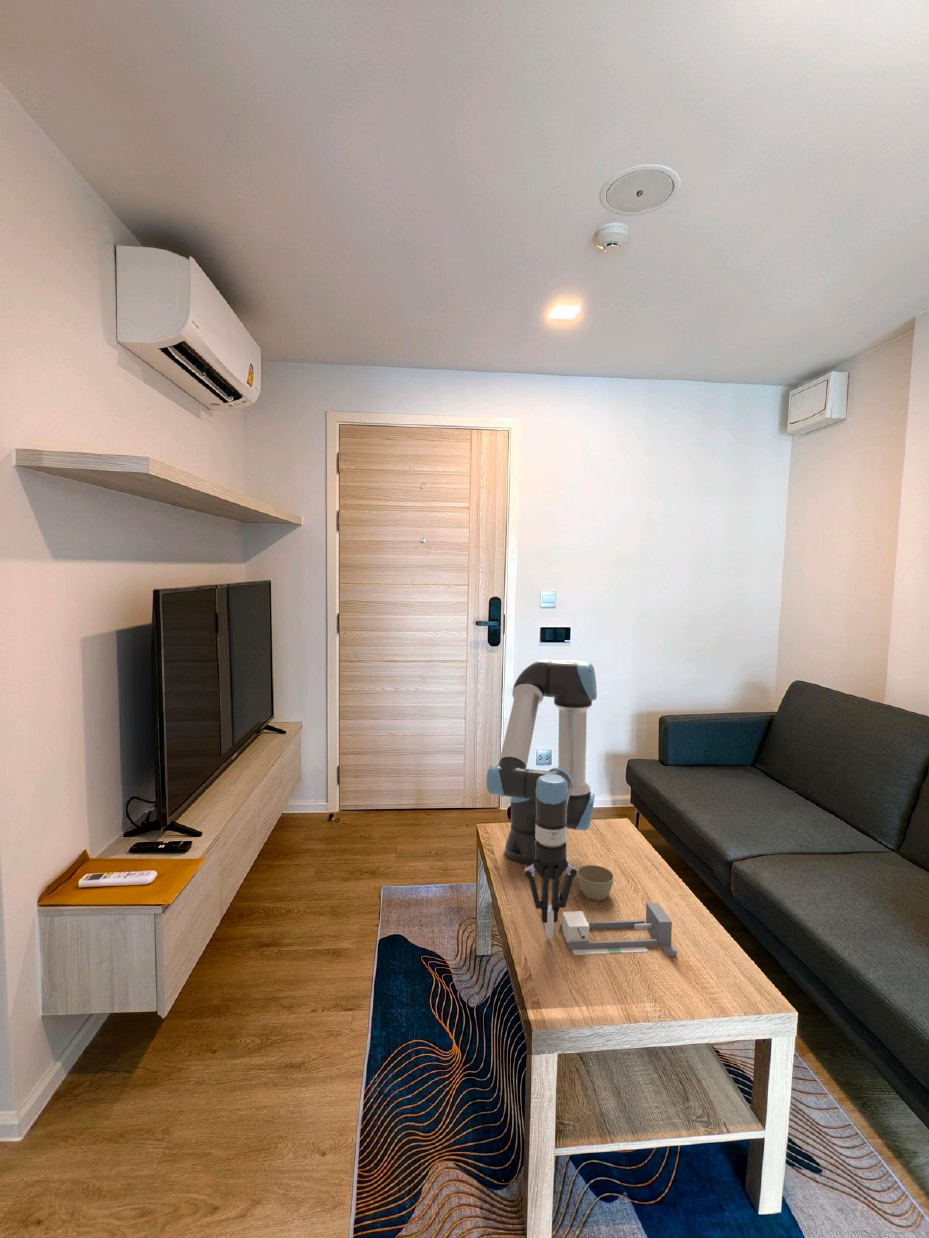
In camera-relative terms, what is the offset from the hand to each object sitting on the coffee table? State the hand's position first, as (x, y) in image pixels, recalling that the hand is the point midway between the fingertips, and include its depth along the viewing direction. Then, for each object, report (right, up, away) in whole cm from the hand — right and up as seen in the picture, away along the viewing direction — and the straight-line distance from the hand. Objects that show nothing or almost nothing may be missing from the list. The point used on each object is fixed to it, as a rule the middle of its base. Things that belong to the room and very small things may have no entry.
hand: (549, 933), depth 134 cm
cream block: (+7, -2, -1) cm, 7 cm away
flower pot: (+16, -2, +20) cm, 26 cm away
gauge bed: (+16, -3, +1) cm, 16 cm away
